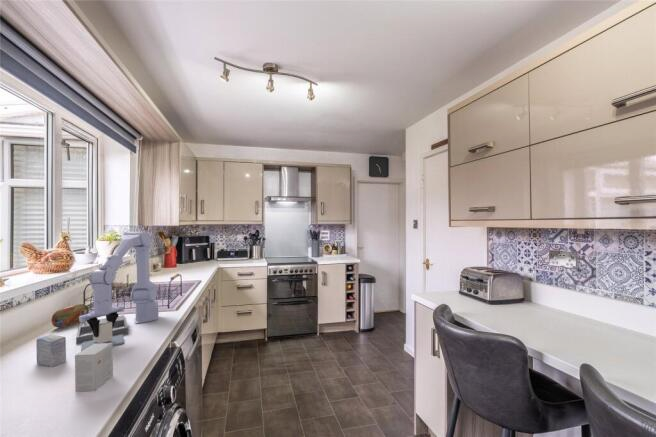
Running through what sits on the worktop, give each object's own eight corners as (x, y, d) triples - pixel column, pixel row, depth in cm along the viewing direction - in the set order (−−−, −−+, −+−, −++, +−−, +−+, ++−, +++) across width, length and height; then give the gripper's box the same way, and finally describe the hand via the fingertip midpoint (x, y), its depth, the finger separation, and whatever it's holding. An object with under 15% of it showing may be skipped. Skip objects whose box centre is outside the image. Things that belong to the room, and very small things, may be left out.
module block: (104, 337, 118) (104, 319, 118) (112, 339, 115) (112, 321, 115) (93, 340, 115) (92, 322, 115) (100, 343, 112) (100, 324, 112)
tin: (55, 330, 130) (55, 311, 130) (49, 330, 130) (49, 311, 130) (89, 319, 144) (89, 302, 144) (84, 318, 145) (84, 301, 145)
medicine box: (66, 361, 100) (66, 336, 101) (50, 367, 96) (50, 341, 96) (52, 358, 103) (51, 333, 103) (36, 364, 99) (35, 338, 99)
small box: (94, 377, 90) (94, 343, 90) (113, 376, 91) (113, 342, 91) (74, 392, 82) (73, 355, 82) (95, 391, 83) (95, 354, 83)
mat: (122, 335, 123) (122, 333, 123) (124, 343, 115) (123, 342, 115) (82, 343, 115) (82, 341, 115) (80, 353, 107) (80, 351, 107)
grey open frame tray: (124, 317, 147) (123, 311, 147) (127, 333, 125) (127, 326, 125) (80, 324, 136) (80, 318, 136) (76, 343, 115) (76, 336, 115)
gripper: (117, 294, 123) (118, 326, 123) (75, 303, 111) (75, 339, 111) (126, 296, 120) (127, 329, 120) (84, 305, 107) (84, 342, 107)
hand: (103, 334), depth 115 cm, fingers closed on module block, 4 cm apart
